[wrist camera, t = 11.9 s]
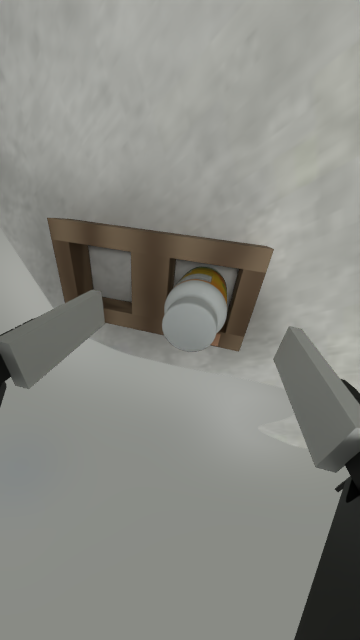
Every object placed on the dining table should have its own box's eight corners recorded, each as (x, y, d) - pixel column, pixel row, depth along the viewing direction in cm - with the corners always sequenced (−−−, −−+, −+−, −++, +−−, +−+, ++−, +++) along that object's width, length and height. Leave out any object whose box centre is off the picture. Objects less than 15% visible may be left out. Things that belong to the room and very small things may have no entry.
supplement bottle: (224, 311, 22) (224, 364, 13) (181, 308, 23) (155, 356, 14) (228, 265, 19) (231, 294, 11) (180, 265, 21) (148, 291, 12)
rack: (83, 305, 26) (66, 315, 23) (69, 218, 21) (45, 217, 18) (237, 337, 23) (239, 352, 20) (266, 246, 18) (274, 249, 15)
